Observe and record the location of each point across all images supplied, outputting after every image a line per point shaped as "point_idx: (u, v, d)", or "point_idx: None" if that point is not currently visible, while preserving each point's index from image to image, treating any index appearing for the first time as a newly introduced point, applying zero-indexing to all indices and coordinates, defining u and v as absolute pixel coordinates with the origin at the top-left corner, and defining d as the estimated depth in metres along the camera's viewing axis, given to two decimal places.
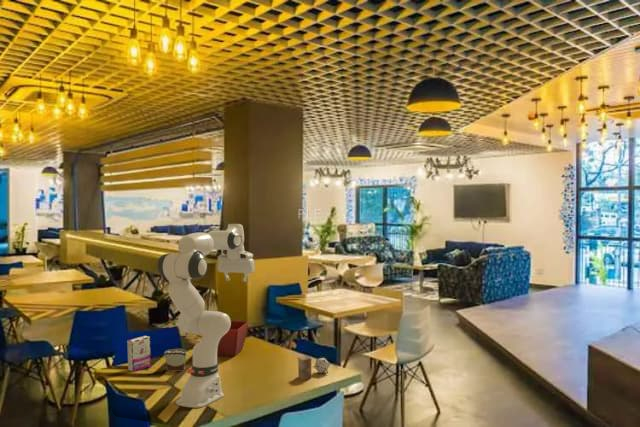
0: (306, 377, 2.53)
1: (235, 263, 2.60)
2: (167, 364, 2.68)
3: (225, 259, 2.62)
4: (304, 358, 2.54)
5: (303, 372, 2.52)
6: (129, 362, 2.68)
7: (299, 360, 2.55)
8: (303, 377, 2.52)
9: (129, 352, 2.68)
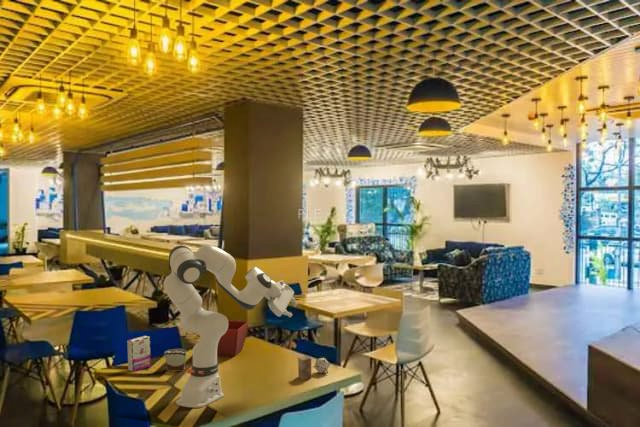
0: (306, 377, 2.53)
1: (282, 295, 2.51)
2: (167, 364, 2.68)
3: (276, 299, 2.46)
4: (304, 358, 2.54)
5: (303, 372, 2.52)
6: (129, 362, 2.68)
7: (299, 360, 2.55)
8: (303, 377, 2.52)
9: (129, 352, 2.68)
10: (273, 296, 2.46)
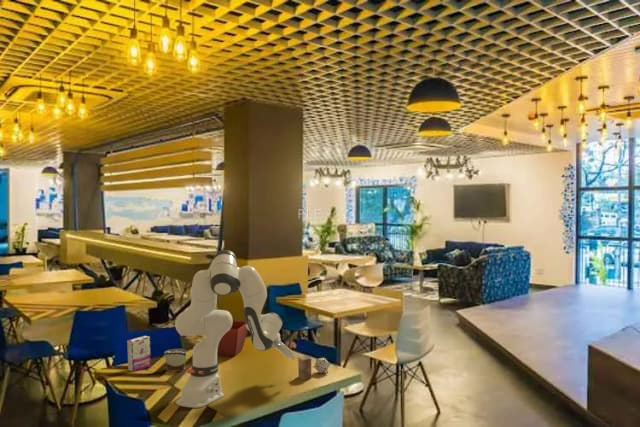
0: (306, 377, 2.53)
1: None
2: (167, 364, 2.68)
3: (280, 341, 2.43)
4: (304, 358, 2.54)
5: (303, 372, 2.52)
6: (129, 362, 2.68)
7: (299, 360, 2.55)
8: (303, 377, 2.52)
9: (129, 352, 2.68)
10: (276, 339, 2.44)
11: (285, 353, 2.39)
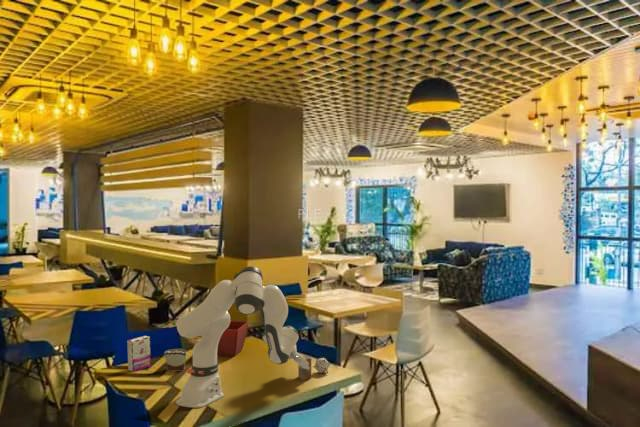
0: (306, 377, 2.53)
1: None
2: (167, 364, 2.68)
3: (297, 353, 2.48)
4: (304, 358, 2.54)
5: (303, 372, 2.52)
6: (129, 362, 2.68)
7: None
8: (303, 377, 2.52)
9: (129, 352, 2.68)
10: (293, 351, 2.48)
11: (302, 364, 2.44)
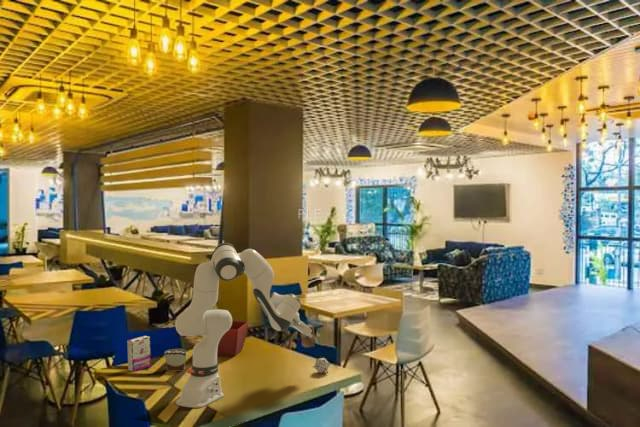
0: (309, 345, 2.53)
1: None
2: (167, 364, 2.68)
3: (299, 320, 2.48)
4: None
5: (306, 340, 2.52)
6: (129, 362, 2.68)
7: None
8: (306, 345, 2.52)
9: (129, 352, 2.68)
10: (296, 318, 2.48)
11: (305, 331, 2.44)
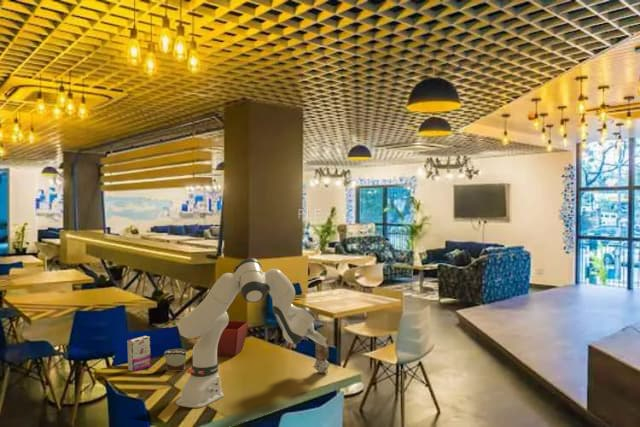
0: (323, 357, 2.59)
1: None
2: (167, 364, 2.68)
3: (314, 330, 2.54)
4: None
5: (320, 352, 2.59)
6: (129, 362, 2.68)
7: None
8: (320, 357, 2.59)
9: (129, 352, 2.68)
10: (311, 328, 2.54)
11: (319, 341, 2.50)
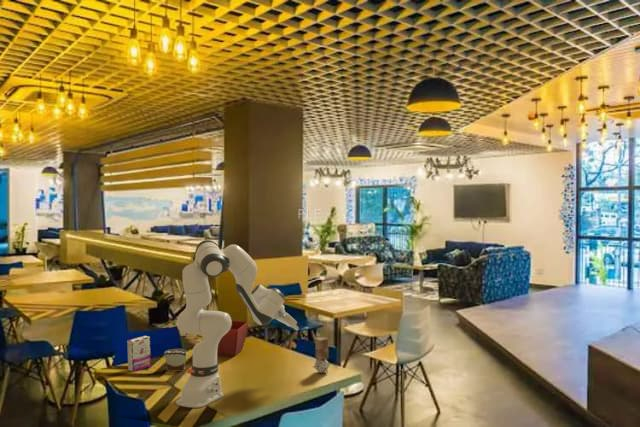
0: (323, 357, 2.59)
1: None
2: (167, 364, 2.68)
3: (285, 312, 2.50)
4: (321, 339, 2.61)
5: (320, 352, 2.59)
6: (129, 362, 2.68)
7: (316, 341, 2.61)
8: (320, 357, 2.59)
9: (129, 352, 2.68)
10: (281, 310, 2.50)
11: (290, 323, 2.46)
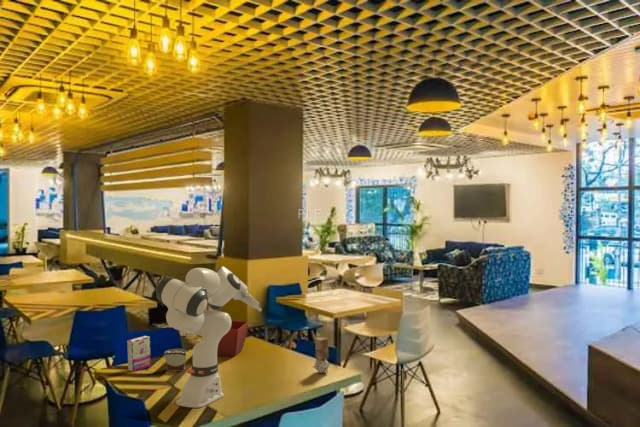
0: (323, 357, 2.59)
1: None
2: (167, 364, 2.68)
3: (247, 293, 2.50)
4: (321, 339, 2.61)
5: (320, 352, 2.59)
6: (129, 362, 2.68)
7: (316, 341, 2.61)
8: (320, 357, 2.59)
9: (129, 352, 2.68)
10: (244, 291, 2.51)
11: (252, 304, 2.46)
